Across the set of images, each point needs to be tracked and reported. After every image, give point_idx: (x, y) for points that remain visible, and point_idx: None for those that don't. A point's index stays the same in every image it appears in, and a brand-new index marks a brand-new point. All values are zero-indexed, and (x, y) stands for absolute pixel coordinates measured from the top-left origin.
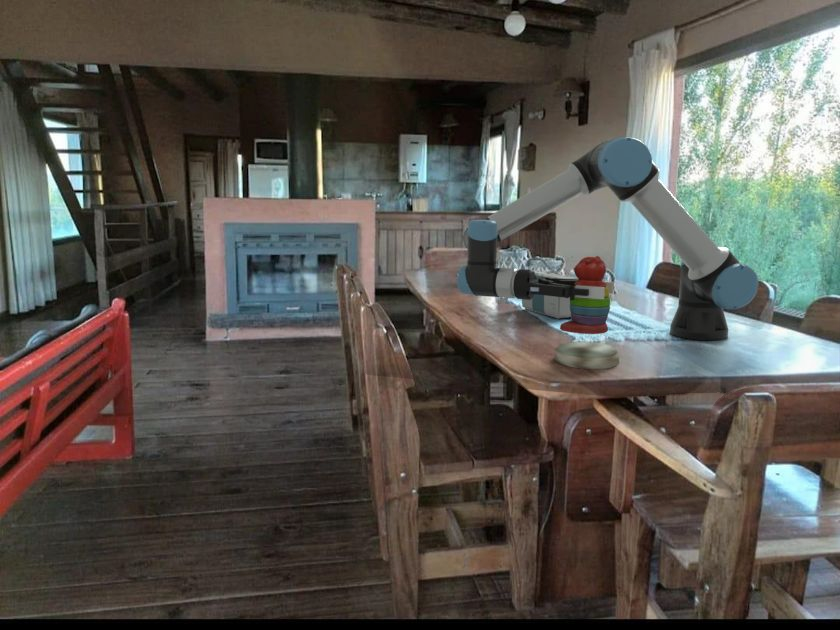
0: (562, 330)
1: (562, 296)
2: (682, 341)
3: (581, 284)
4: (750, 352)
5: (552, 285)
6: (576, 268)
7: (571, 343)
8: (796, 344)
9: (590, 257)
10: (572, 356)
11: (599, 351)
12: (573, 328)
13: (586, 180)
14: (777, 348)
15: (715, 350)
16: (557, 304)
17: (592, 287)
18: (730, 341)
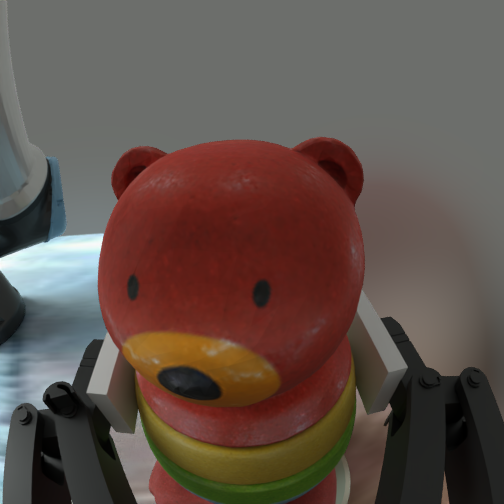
0: None
1: (464, 427)
2: (25, 339)
3: (348, 357)
4: (87, 276)
5: (500, 476)
6: (352, 310)
7: None
8: (50, 252)
9: (264, 144)
10: (350, 481)
11: None
12: (335, 475)
13: None
14: (66, 261)
15: (79, 303)
16: None
17: (365, 299)
18: (30, 293)
